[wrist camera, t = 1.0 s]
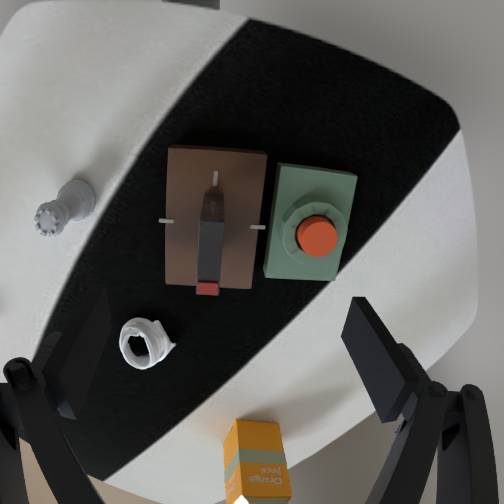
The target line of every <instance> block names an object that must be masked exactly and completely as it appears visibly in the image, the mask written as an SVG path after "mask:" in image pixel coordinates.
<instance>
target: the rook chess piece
mask: <svg viewBox="0 0 504 504" xmlns="http://www.w3.org/2000/svg"><path fill="white" fill-rule="evenodd" d="M94 206H95V195H94V193H93V191H92V188H91V187H90V186H89V185H88V184H87V183H85V182H83V181H81V180H72V181H70V182H68V183H66V184H65V185H64V186H63V187H62V188H61V189H60V191H59V192H58V196H57V199H56V200H53V201H51V202H45V203H44V204H42V205H40V207H39V208H38V210H37V213H36V215H35V219H34V220H35V221H37V224H36V225H35V227H36V229H37V230H38V229H40V230H41V231H42V232H41V235H43V236H46V235H48V236H56V235H59V234H60V233H61V232H62V230H63V229H64V226H66V224H67V223H68V221H80V220H82V219H85V218H86V217H88V216H89V215H90V214H91V212H92V211H93V209H94Z"/></svg>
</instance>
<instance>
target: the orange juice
mask: <svg viewBox="0 0 504 504" xmlns="http://www.w3.org/2000/svg"><path fill="white" fill-rule="evenodd" d="M223 447H224V469H225V471H224V474H225V488H226V504H287V503H288V501H289V500H290V498H291V497H292V492H291V486H290V481H289V475H288V470H287V465H286V464H287V463H286V458H285V452H284V449H283V443H282V438H281V433H280V427H279V423H267V422H257V421H248V420H239V419H236V421H235V423H234V425H233V427H232V429H231V431H230V433H229V435H228V437H227V438H226V440H225V442H224V444H223Z"/></svg>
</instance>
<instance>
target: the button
mask: <svg viewBox="0 0 504 504" xmlns="http://www.w3.org/2000/svg"><path fill="white" fill-rule="evenodd" d="M297 238H298V241H299V243H300V245H301V247H302V248H303V250H304V251H305V252H306V253H307V254H308V255H310V256H313V257H322V256H325V255H327V254H329V253H330V252H331V251H332V250H333V249H334V247H335V246H336V243H337V232H336V229H335V228H334V227H333V226H332V224H331V223H330V222H329V221H328V220H327V219H325V218H324V217H321V216H312V217H309V218H307V219H305V220H304V221H303V222H302V223H301V224H300V226H299V228H298V231H297Z"/></svg>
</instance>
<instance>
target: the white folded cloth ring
mask: <svg viewBox="0 0 504 504" xmlns="http://www.w3.org/2000/svg"><path fill="white" fill-rule="evenodd" d="M139 334H140V336H141V337H144V339H145V342H146V344H147V347H148V350H149V354H146V355H143V356H139V357H137V356H135V355H134V354H133V352H132V351H131V349H130V345H129V343H127V341H128V339H129V337H130V336H139ZM119 344H120V349H121V351H122V353H123V356H124V358H125V360H126V361H127V362H128V363H129V364H130V365H132V366H133V367H135V368H138V369H146V368H148V367H151V366H153V365H155V364H156V362H158V361H161V360H162V359H164V358H165V357H166V355H167V354H168V353H169V352H170V350H171V349H172V348H173V347H174V346H175V345H176V343H174V344H173V343H172V342H170V340H169V337H168V336H167V334H166V332H165V331H164V329H163V327H162V325H161V323H160V322H159V320H156V321H154V322H153V323H152V322H151V321H149V320H148V319H145V318H133V319H131V320H129V321H128V322H127V323H126V324H125V325H124V326H123V328H122V330H121V334H120V341H119Z"/></svg>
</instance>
